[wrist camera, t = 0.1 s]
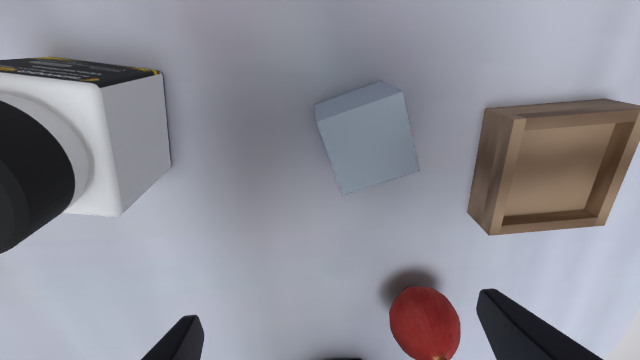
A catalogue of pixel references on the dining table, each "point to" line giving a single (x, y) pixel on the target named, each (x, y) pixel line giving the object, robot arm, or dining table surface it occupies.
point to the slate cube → (367, 136)
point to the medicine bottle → (76, 140)
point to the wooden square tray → (552, 164)
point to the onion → (425, 324)
